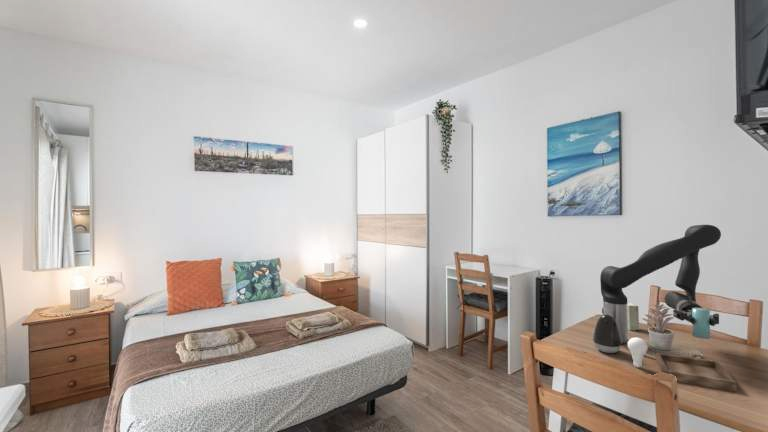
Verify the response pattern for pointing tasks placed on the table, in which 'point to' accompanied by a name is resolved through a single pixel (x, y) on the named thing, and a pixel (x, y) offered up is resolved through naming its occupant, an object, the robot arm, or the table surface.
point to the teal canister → (701, 323)
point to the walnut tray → (696, 371)
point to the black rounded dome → (607, 335)
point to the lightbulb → (637, 350)
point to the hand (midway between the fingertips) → (703, 322)
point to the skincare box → (633, 316)
